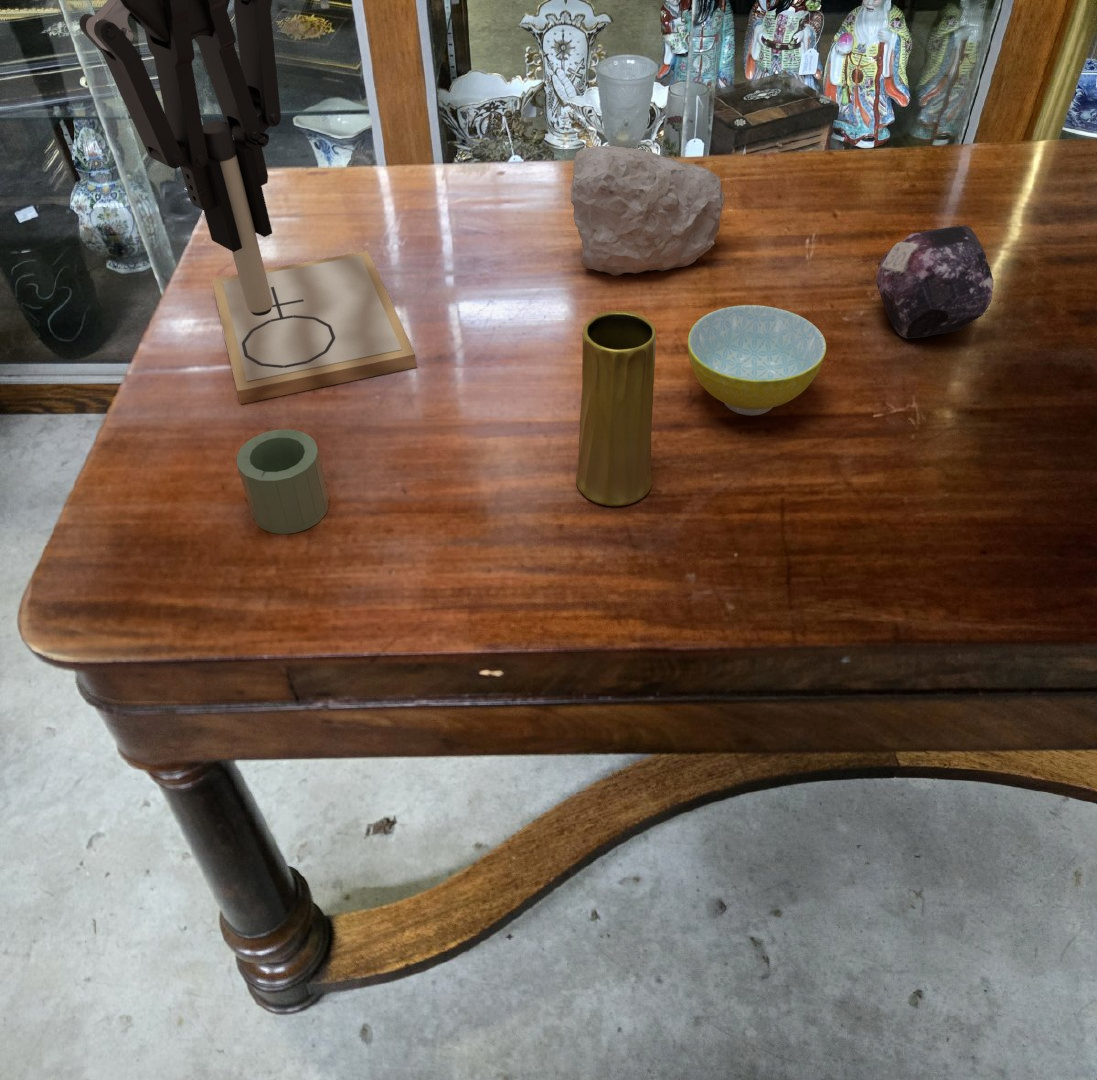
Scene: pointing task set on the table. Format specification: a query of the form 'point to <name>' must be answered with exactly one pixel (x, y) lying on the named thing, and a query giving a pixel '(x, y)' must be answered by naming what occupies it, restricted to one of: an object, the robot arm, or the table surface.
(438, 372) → the table surface
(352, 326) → the sketch board
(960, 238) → the mineral specimen
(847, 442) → the table surface
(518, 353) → the table surface
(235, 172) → the pen
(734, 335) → the bowl
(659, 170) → the rough grey rock
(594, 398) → the vase
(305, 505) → the pencil pot
